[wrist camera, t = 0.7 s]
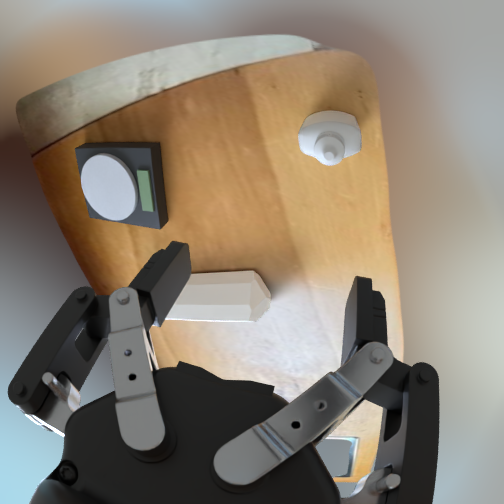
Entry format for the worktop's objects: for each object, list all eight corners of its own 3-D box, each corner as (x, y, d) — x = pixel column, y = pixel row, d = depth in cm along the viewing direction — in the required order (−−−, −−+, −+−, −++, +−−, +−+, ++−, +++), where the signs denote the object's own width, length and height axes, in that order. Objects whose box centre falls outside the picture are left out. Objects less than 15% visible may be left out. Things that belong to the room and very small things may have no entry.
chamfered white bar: (259, 273, 39) (124, 279, 48) (264, 326, 40) (131, 320, 48) (275, 266, 46) (151, 273, 55) (279, 311, 47) (156, 310, 55)
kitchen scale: (84, 143, 39) (71, 150, 36) (160, 142, 36) (147, 150, 34) (98, 210, 46) (86, 220, 44) (168, 221, 43) (157, 232, 41)
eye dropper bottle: (315, 96, 29) (305, 113, 19) (362, 120, 29) (376, 149, 19) (299, 130, 31) (282, 164, 22) (345, 152, 31) (348, 197, 22)
